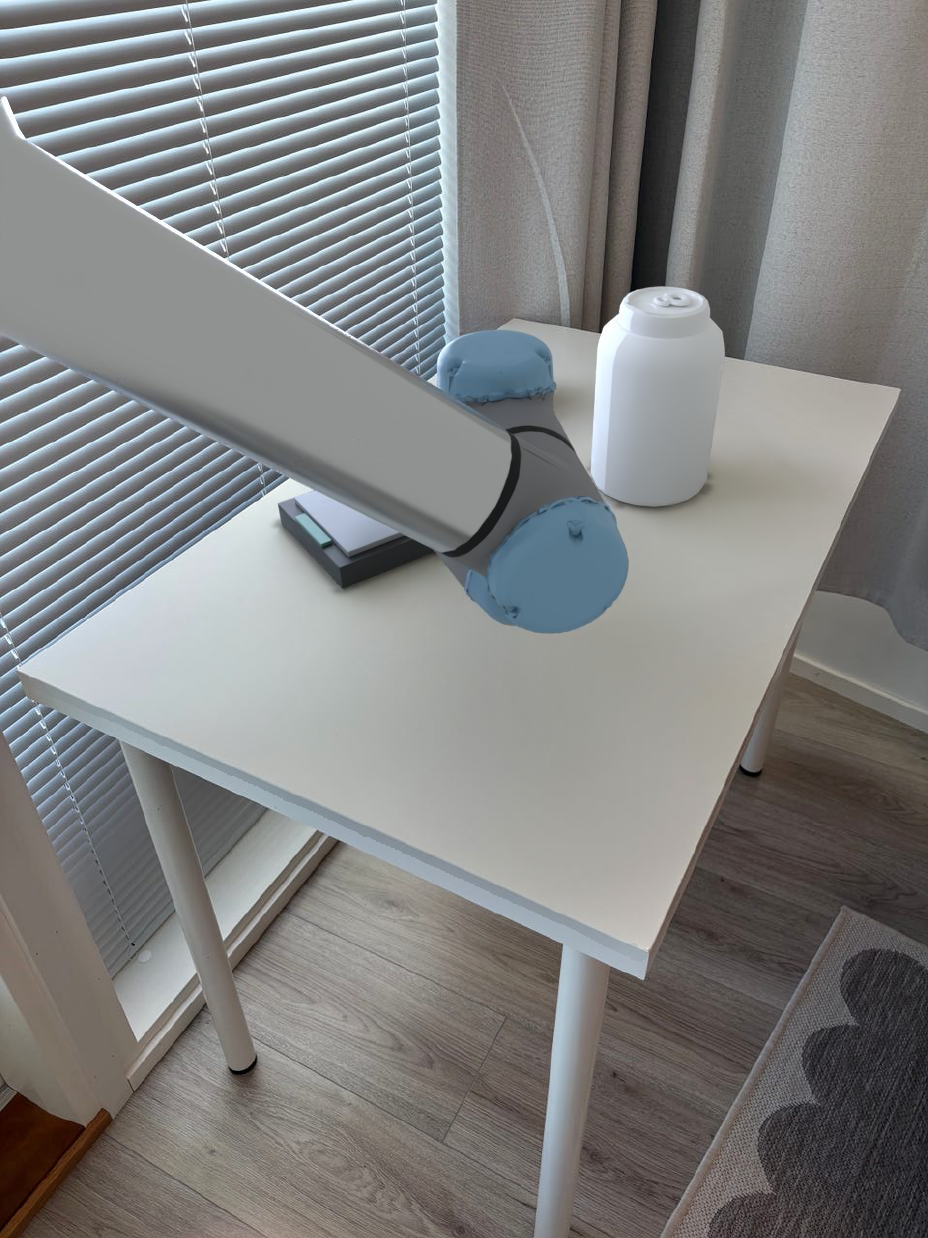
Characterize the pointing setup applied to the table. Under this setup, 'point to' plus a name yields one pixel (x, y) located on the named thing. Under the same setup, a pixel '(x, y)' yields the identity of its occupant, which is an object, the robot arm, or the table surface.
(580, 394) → the table surface
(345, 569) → the scale
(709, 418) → the can
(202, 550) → the table surface
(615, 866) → the table surface
